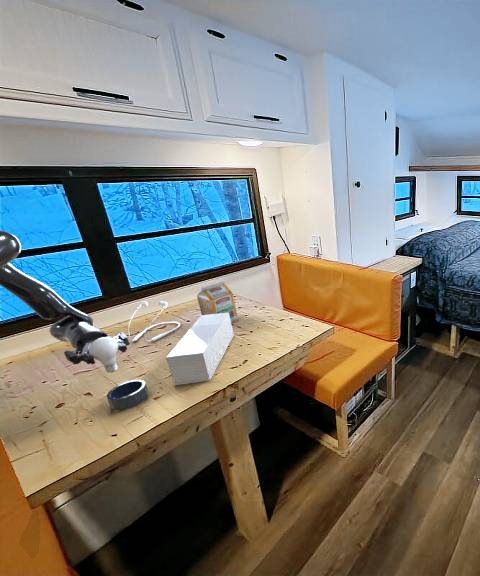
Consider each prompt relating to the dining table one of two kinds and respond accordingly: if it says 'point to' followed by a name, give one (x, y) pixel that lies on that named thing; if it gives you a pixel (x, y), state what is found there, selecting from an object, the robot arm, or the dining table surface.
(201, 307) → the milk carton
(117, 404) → the socket
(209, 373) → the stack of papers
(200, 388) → the dining table surface
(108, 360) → the lightbulb
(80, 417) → the dining table surface
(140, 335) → the earphone
